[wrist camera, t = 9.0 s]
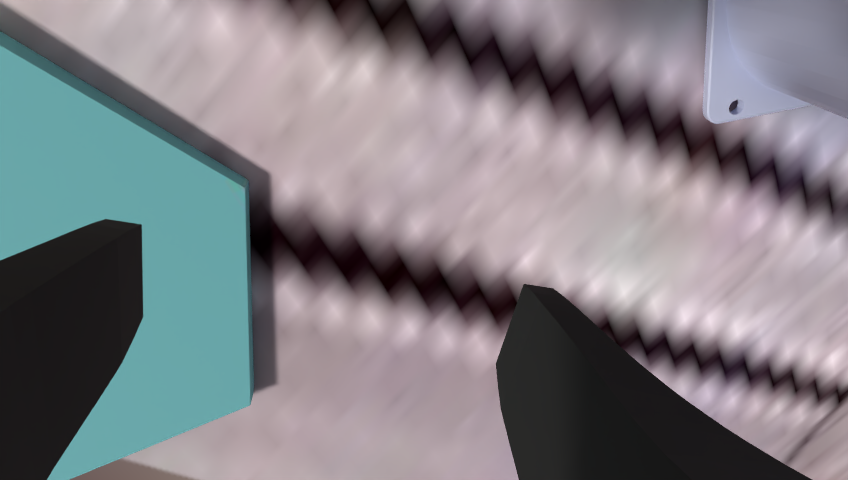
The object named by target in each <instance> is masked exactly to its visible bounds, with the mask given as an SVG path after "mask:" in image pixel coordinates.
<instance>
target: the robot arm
mask: <svg viewBox="0 0 848 480" xmlns="http://www.w3.org/2000/svg"><path fill="white" fill-rule="evenodd" d="M737 99H738V105H737V107H736V108H735V109H734V110H732V111H730V112H729V107H730V104H731V103H732V102H733V101H735V100H737ZM811 105H815V106H817V107H820V108H822V109H825V110H827V111H830V112H832V113H835V114H837V115H840V116H842V117H845V118H847V119H848V0H708V14H707V34H706V54H705V73H704V93H703V115H704V117H705V118H706V119H707V120H709V121H711V122H713V123H715V124H720V123H725V122H731V121H736V120H741V119H746V118H751V117H756V116H761V115H766V114H771V113H776V112H781V111H786V110H791V109H796V108H801V107H806V106H811ZM142 319H143V267H142V224H136V223H129V222H123V221H116V220H110V219H104V220H101V221H97V222H94V223H91V224H89V225H86V226H84V227H81V228H78V229H76V230H73V231H71V232H68V233H66V234H64V235H61V236H59V237H56V238H54V239H51V240H49V241H47V242H44V243H42V244H39V245H37V246H34V247H32V248H29V249H27V250H25V251H22V252H20V253H17V254H15V255H12V256H10V257H7V258H5V259H2V260H0V480H47V479H48V477H49V475H50V474H51V472H52V470H53V469H54V467H55V466H56V464H57V463H58V461H59V460H60V458H61V457H62V455H63V454H64V452H65V450H66V449H67V447H68V446H69V444H70V443H71V441H72V440H73V438H74V437H75V435H76V434H77V432H78V431H79V429H80V428H81V426H82V425H83V423H84V421H85V420H86V418H87V417H88V415H89V414H90V412H91V411H92V409H93V408H94V406H95V405H96V403H97V402H98V400H99V399H100V397H101V395H102V394H103V392H104V391H105V389H106V388H107V386H108V385H109V383H110V381H111V380H112V378H113V377H114V375H115V374H116V372H117V370H118V369H119V367H120V366H121V364H122V362H123V360H124V358H125V356H126V354H127V352H128V350H129V348H130V346H131V343H132V341H133V339H134V337H135V335H136V332H137V330H138V328H139V326H140V323H141V321H142ZM496 369H497V380H498V390H499V397H500V405H501V411H502V415H503V419H504V423H505V427H506V431H507V435H508V439H509V443H510V447H511V451H512V455H513V458H514V462H515V466H516V470H517V474H518V478H519V480H812V479H810V478H808V477H806V476H805V475H803V474H801V473H799V472H797V471H796V470H794V469H792V468H790V467H788V466H787V465H785V464H783V463H781V462H780V461H778V460H777V459H775V458H773V457H772V456H770V455H768V454H767V453H765V452H763V451H762V450H760V449H758V448H757V447H755V446H753V445H752V444H750V443H748V442H747V441H745V440H743V439H742V438H740V437H739V436H737V435H736V434H734V433H733V432H731V431H729V430H728V429H726V428H725V427H723V426H722V425H720V424H719V423H718V422H716V421H715V420H713V419H712V418H710V417H709V416H708V415H706V414H705V413H703V412H702V411H700V410H699V409H698V408H696V407H695V406H693V405H692V404H690V403H689V402H688V401H686V400H685V399H684V398H682V397H681V396H680V395H678V394H677V393H676V392H674V391H673V390H672V389H670V388H669V387H668V386H667V385H665V384H664V383H663V382H662V381H660V380H659V379H658V378H657V377H655V376H654V375H653V374H652V373H650V372H649V371H648V370H647V369H645V368H644V367H643V366H642V365H641V364H639V363H638V362H637V361H636V360H635V359H634V358H632V357H631V356H630V355H629V354H628V353H627V352H625V351H624V350H623V349H622V348H621V347H620V346H619V345H617V344H616V343H615V342H614V341H613V340H612V339H611V338H610V337H608V336H607V335H606V334H605V333H604V332H603V331H602V330H601V329H600V328H599V327H597V326H596V325H595V324H594V323H593V322H592V321H591V320H590V319H589V318H588V317H586V316H585V315H584V314H583V313H582V312H581V311H580V310H579V309H578V308H576V307H575V306H574V305H573V304H572V303H571V302H570V301H568V300H567V299H566V298H565V297H564V296H562V295H561V294H560V293H558V292H557V291H556V290H554V289H553V288H546V287H540V286H534V285H527V284H524V285H523V288H522V291H521V294H520V297H519V299H518V302H517V305H516V308H515V311H514V314H513V316H512V319H511V322H510V325H509V328H508V331H507V334H506V336H505V339H504V342H503V345H502V348H501V351H500V354H499V356H498V359H497V362H496Z"/></svg>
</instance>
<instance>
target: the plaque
mask: <svg viewBox="0 0 848 480" xmlns="http://www.w3.org/2000/svg"><path fill="white" fill-rule="evenodd" d="M104 219H110V220H116V221H123V222H129V223H136V224H142V267H143V319H142V321H141V323H140V326H139V328H138V330H137V332H136V335H135V337H134V339H133V341H132V343H131V346H130V348H129V350H128V352H127V354H126V356H125V358H124V360H123V362H122V364H121V366H120V367H119V369H118V370H117V372H116V374H115V375H114V377H113V378H112V380H111V381H110V383H109V385H108V386H107V388H106V389H105V391H104V392H103V394H102V395H101V397H100V399H99V400H98V402H97V403H96V405H95V406H94V408H93V409H92V411H91V412H90V414H89V415H88V417H87V418H86V420H85V421H84V423H83V425H82V426H81V428H80V429H79V431H78V432H77V434H76V435H75V437H74V438H73V440H72V441H71V443H70V444H69V446H68V447H67V449H66V450H65V452H64V454H63V455H62V457H61V458H60V460H59V461H58V463H57V464H56V466H55V467H54V469H53V470H52V472H51V474H50V475H49V477H48V479H47V480H69V479H72V478H74V477H76V476H79V475H81V474H84V473H86V472H89V471H91V470H94V469H96V468H98V467H101V466H103V465H106V464H108V463H111V462H113V461H115V460H118V459H120V458H123V457H125V456H128V455H130V454H133V453H135V452H137V451H140V450H142V449H145V448H147V447H150V446H152V445H154V444H157V443H159V442H162V441H164V440H167V439H169V438H172V437H174V436H176V435H179V434H181V433H184V432H186V431H189V430H191V429H193V428H196V427H198V426H201V425H203V424H206V423H208V422H210V421H213V420H215V419H218V418H220V417H223V416H225V415H228V414H230V413H232V412H235V411H237V410H240V409H242V408H245V407H247V406H249V405H250V404H251V400H252V396H253V392H254V368H253V329H252V291H251V252H250V214H249V180H247V179H246V178H244V177H242V176H241V175H239V174H237V173H236V172H234V171H232V170H231V169H229V168H227V167H226V166H224V165H222V164H221V163H219V162H217V161H216V160H214V159H212V158H211V157H209V156H207V155H206V154H204V153H202V152H201V151H199V150H197V149H196V148H194V147H192V146H191V145H189V144H187V143H186V142H184V141H182V140H181V139H179V138H177V137H176V136H174V135H172V134H171V133H169V132H167V131H166V130H164V129H162V128H161V127H159V126H157V125H156V124H154V123H152V122H151V121H149V120H147V119H146V118H144V117H142V116H141V115H139V114H137V113H136V112H134V111H132V110H131V109H129V108H127V107H126V106H124V105H122V104H121V103H119V102H117V101H116V100H114V99H112V98H111V97H109V96H107V95H106V94H104V93H102V92H101V91H99V90H97V89H96V88H94V87H92V86H91V85H89V84H87V83H86V82H84V81H82V80H81V79H79V78H77V77H76V76H74V75H72V74H71V73H69V72H67V71H66V70H64V69H62V68H61V67H59V66H57V65H56V64H54V63H52V62H51V61H49V60H47V59H46V58H44V57H42V56H41V55H39V54H37V53H36V52H34V51H32V50H31V49H29V48H27V47H26V46H24V45H22V44H21V43H19V42H17V41H16V40H14V39H13V38H11V37H9V36H8V35H6V34H4V33H3V32H1V31H0V260H2V259H5V258H7V257H10V256H12V255H15V254H17V253H20V252H22V251H25V250H27V249H29V248H32V247H34V246H37V245H39V244H42V243H44V242H47V241H49V240H51V239H54V238H56V237H59V236H61V235H64V234H66V233H68V232H71V231H73V230H76V229H78V228H81V227H84V226H86V225H89V224H91V223H94V222H97V221H101V220H104Z"/></svg>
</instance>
